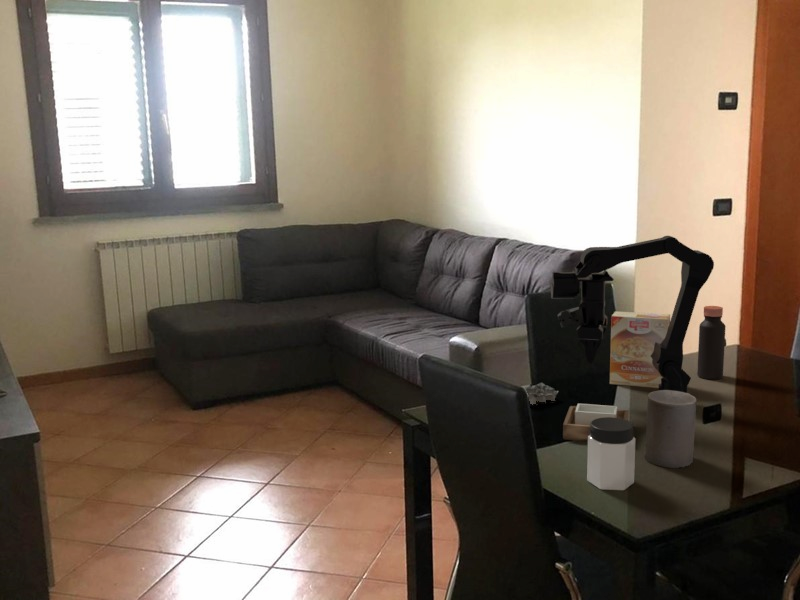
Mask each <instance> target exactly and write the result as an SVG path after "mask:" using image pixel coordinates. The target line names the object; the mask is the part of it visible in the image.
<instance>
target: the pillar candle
mask: <svg viewBox="0 0 800 600" xmlns="http://www.w3.org/2000/svg"><path fill="white" fill-rule="evenodd" d="M646 404H647V407H646V431H645V454H644V459H645V461H647V462H648V463H651V464H653V465H655V466H659V467H663V468H671V469H679V467H682V468H686V467H685V466H687V467H689V466H691V465H692V464H693V461H694V448H695V447H694V444H695V433H696V432H695V430H696V429H695V428H696V427H695V426H696V413H697V412H696V410H697V398H696V397H695V396H694V395H692V394H690V393H688V392H687V393H684V392H679V391H672V390H659V391H658V390H655V391H651V392H649V393H648V395H647V403H646ZM691 463H692V464H691ZM690 464H691V465H690ZM688 465H689V466H688Z"/></svg>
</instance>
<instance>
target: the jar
mask: <svg viewBox="0 0 800 600" xmlns="http://www.w3.org/2000/svg"><path fill="white" fill-rule="evenodd" d="M634 427H635V426H634V424H633V422H631V421H630V420H628V421H627V420H624V419H620V418H612V417H605V418H598V419H595V420H593V421H592V422H591V424H590V435H589V436H588V441H587V463H586V464H587V468H586V470H587V471H586V475H587V476H586V480H587V482H589V483H590V484H592V485H593V486H595V487H596V488H598V489H599V490H602V491H603V490H604V491H625V490H626V489H628V488H629V487H630V486H632V485H633V484H634V483H635V470H636V469H635V462H636V458H635V457H636V438H635V436H634Z"/></svg>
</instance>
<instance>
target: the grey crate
mask: <svg viewBox="0 0 800 600" xmlns="http://www.w3.org/2000/svg"><path fill="white" fill-rule="evenodd" d="M576 406H577V407H576V411H575V424H577V425H590V424H591V422H592V421H593V420H595V419H598V418H605V417H612V418H617V410H618V406H616V405H606V404H605V405H603V404H602V405H601V404H593V403H591V404H590V403H577V405H576Z"/></svg>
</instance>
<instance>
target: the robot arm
mask: <svg viewBox="0 0 800 600" xmlns="http://www.w3.org/2000/svg"><path fill="white" fill-rule="evenodd" d="M665 254H669V255H671V257H673V258H675V259H677V261H680V262H681V270H680V274H681V275H680V276H681V277H680V278H681V279H680V280H681V284H680V287H679V292H678V294H677V299H676V301H675V304H674V308H673V312H672V314H671V316H670V324H669V327H668V330H667V334H666V337H665V339H664V340H663V341H662V343H661V344H659V343H657V342H655V345H654V351H653V353H652V355H651V358H652V364H653V366H654V368H655V369H656V370H657V371H658V372H659V373H660V375H661V376H662V377H663V378H661V384H659V386H658V388H657V389H658V390H657V391H659V390H672V391H679V392H684V393H688V386H689V384H690V382H691V379H692V378H691V376H690V375H689V374H688V373H687V372H686V371H685V370H684V369H683V360H684V341H685V338H686V334H687V331H688V329H689V326H690V322H691V318H692V316H693V312H694V309H695V306H696V302H697V299H698V297H699V292H700V290H701V289H702V288H703V286H704V285H705V284H706V283H707V281H708V279H709V278H710V276H711V274H712V272H713V270H714V266H715V262H714V260H713V258H712V256H710V255H709V254H707V253H705V252H702V251H700V250H696V249H695V250H694V249H692V248H690V247H688V246H687V245H685V244H684V243H682V242H681V241H679V240H678V239H677V238H676V237H674V236H671V235H664V236H663V237H658V238H654V239H649V240H643V241H639V242H634V243H629V244H625V245H624V244H623V245H620V246H593V247H590V246H589V247H587V248H585V249H584V250H583V251H582V253H581V255H580V261H579V262H578V263H577V264H576V266H575V267H574V268H573V269H572V271H568V272H567V271H564V272H561V271H552V276H551V283H550V297H551V300H563V299H564V300H570V299H575V298H576V297H578V295H580V298H581V299H580V303H579V304H578V306H577V307H572V308H569V309H565V310H562V311H560V312H559V313H558V314H557V318H558V320H557V321H558V323H559V324H560V327H561V328H565V327H567V326H569V325H573V324H575V323H577V322H578V325H579V326H578V327H577V328H576V330H575V338H576V339H577V341H579V342H580V343H581V344H582V345H583V348H584V353H585V357H586V362H587V364H588V365H592V364H593V363H594V361H595V358H596V356H597V353H598V351H599V349H600V347H601V343H602V341H603V339H604V334H605V332H606V330H607V327H608V316H607V315H606V314H605V306H606V296H605V295H606V282H613V281H614V280H615V279H614V278H613V277H612V276H611V275H610V274H609V272H608V271H607V270H609V269H611V268H614V267H616V266H617V265H620V264H622V263H627V262H632V261H636V260H641V259H645V258H646V259H647V258H651V257H652V258H653V257H656V256H660V255H665ZM580 285H581V287H580ZM580 290H581V291H580Z"/></svg>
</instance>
